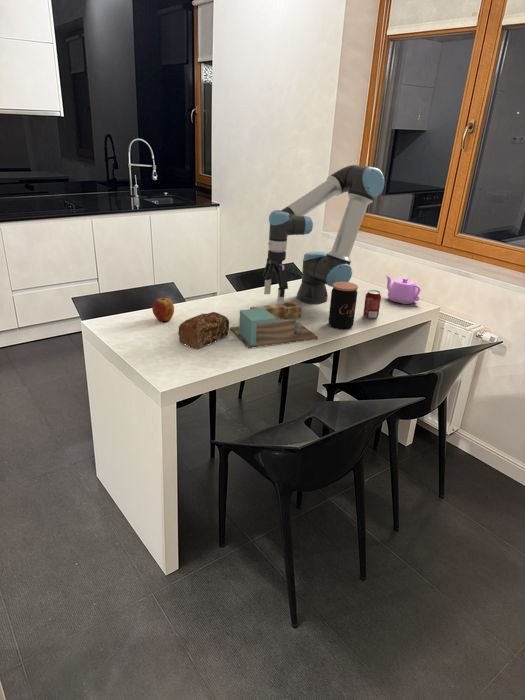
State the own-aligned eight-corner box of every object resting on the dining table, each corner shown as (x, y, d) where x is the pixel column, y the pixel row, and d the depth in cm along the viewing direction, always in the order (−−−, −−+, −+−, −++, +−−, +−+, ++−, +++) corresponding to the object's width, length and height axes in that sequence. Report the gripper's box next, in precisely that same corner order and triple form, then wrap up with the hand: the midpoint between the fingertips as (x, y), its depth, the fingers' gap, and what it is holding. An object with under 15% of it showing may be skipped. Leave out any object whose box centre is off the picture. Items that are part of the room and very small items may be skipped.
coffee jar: (337, 331, 206) (342, 290, 198) (323, 323, 214) (327, 282, 207) (358, 328, 211) (363, 287, 203) (343, 319, 219) (347, 280, 212)
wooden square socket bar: (255, 322, 211) (255, 311, 209) (248, 316, 218) (248, 305, 216) (300, 317, 219) (301, 306, 217) (292, 311, 226) (293, 301, 224)
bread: (197, 351, 182) (197, 325, 178) (177, 343, 188) (176, 318, 184) (230, 336, 196) (230, 313, 192) (210, 329, 202) (210, 306, 198)
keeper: (239, 336, 196) (239, 310, 192) (262, 333, 200) (263, 307, 196) (250, 348, 186) (251, 320, 182) (274, 344, 190) (276, 318, 186)
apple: (148, 320, 208) (147, 297, 204) (165, 315, 215) (165, 293, 210) (161, 326, 203) (160, 302, 199) (179, 321, 209) (178, 298, 205)
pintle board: (229, 329, 203) (230, 316, 200) (294, 321, 214) (295, 309, 212) (248, 348, 186) (248, 335, 184) (317, 338, 198) (318, 326, 195)
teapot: (424, 302, 247) (428, 279, 242) (411, 308, 238) (416, 284, 233) (388, 293, 259) (391, 271, 254) (375, 298, 250) (378, 275, 245)
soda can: (378, 320, 220) (381, 294, 215) (362, 318, 221) (366, 293, 217) (377, 315, 226) (381, 290, 221) (362, 313, 228) (366, 288, 223)
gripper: (257, 244, 215) (254, 291, 223) (282, 257, 194) (278, 308, 203) (272, 243, 218) (269, 289, 226) (299, 256, 197) (294, 307, 206)
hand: (273, 298), depth 215 cm, fingers open, 13 cm apart
